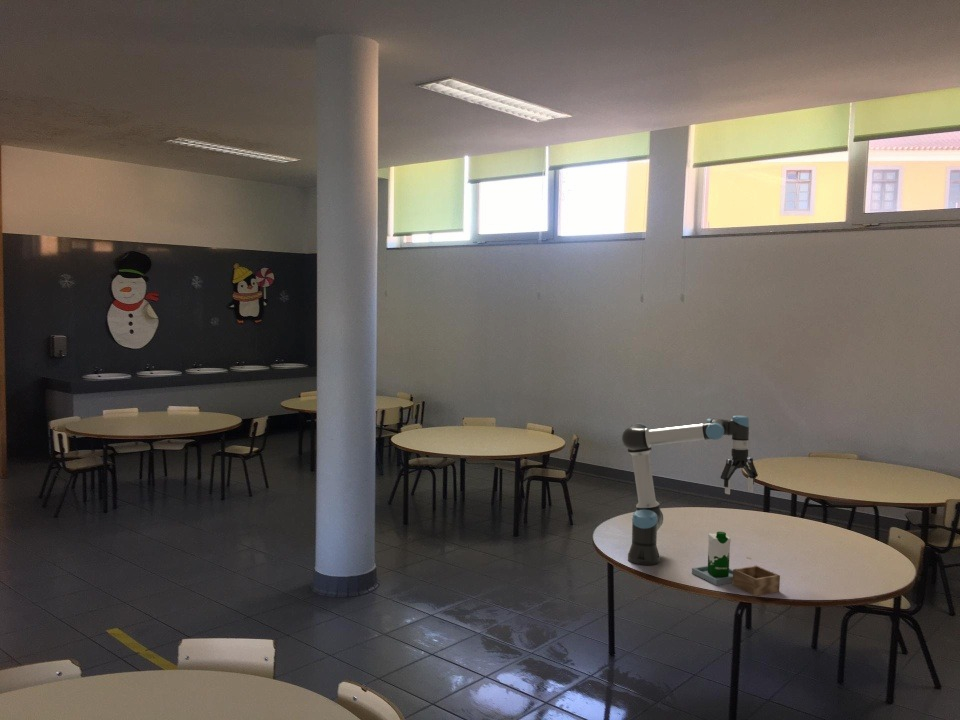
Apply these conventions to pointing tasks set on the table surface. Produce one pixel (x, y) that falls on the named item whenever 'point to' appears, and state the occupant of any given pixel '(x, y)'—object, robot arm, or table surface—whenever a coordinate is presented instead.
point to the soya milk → (718, 554)
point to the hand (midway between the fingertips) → (738, 492)
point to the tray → (704, 574)
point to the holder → (756, 580)
